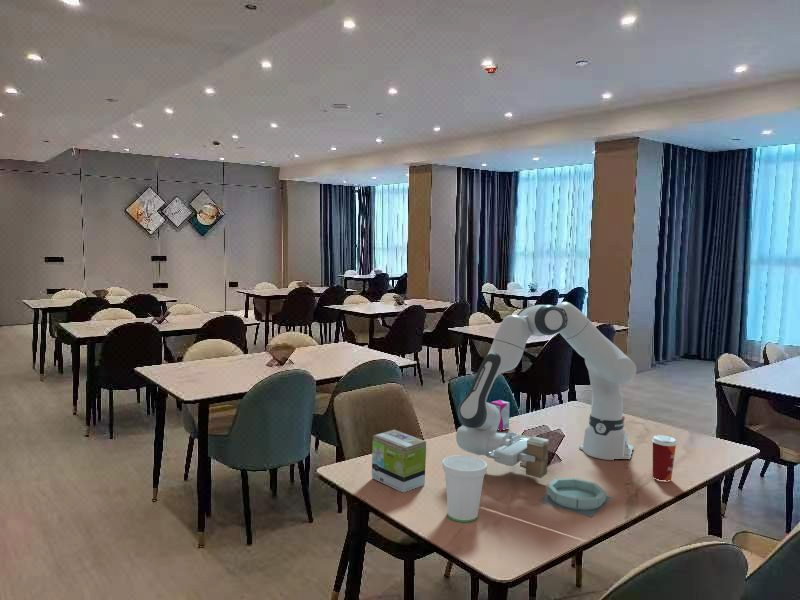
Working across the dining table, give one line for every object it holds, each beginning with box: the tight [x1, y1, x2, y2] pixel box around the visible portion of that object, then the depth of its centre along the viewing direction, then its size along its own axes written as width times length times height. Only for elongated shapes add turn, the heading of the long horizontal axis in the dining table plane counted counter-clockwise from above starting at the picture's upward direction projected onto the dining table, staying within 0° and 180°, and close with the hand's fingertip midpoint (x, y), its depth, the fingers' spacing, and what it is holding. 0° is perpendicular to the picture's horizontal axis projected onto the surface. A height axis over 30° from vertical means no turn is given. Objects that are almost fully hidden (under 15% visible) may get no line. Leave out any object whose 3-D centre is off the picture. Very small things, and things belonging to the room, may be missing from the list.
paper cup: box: [651, 434, 678, 481], centre depth 198 cm, size 8×8×14 cm
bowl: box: [546, 477, 607, 510], centre depth 179 cm, size 16×16×3 cm
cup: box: [441, 454, 488, 523], centre depth 166 cm, size 12×12×15 cm
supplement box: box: [490, 399, 510, 430], centre depth 248 cm, size 6×6×12 cm
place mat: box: [538, 493, 613, 518], centre depth 179 cm, size 18×16×1 cm
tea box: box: [371, 429, 427, 494], centre depth 188 cm, size 15×10×15 cm, turn 45°
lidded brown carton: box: [525, 435, 550, 479], centre depth 190 cm, size 5×5×11 cm
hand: (539, 456), depth 190 cm, fingers closed on lidded brown carton, 5 cm apart
